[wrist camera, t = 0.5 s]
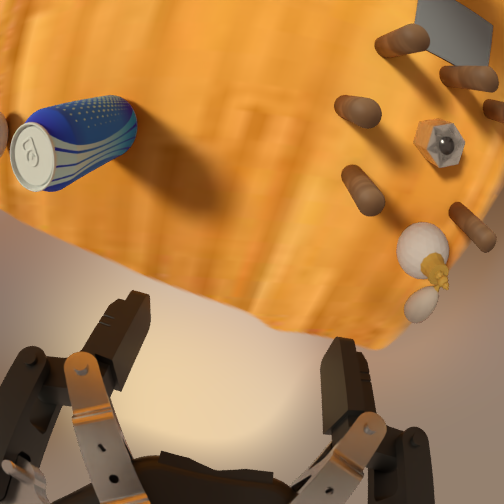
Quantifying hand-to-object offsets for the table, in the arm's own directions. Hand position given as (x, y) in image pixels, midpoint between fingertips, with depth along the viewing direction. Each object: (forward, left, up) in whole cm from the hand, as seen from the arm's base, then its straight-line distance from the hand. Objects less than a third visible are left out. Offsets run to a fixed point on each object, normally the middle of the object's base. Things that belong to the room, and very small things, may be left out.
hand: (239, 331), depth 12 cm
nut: (-9, +19, -27) cm, 34 cm away
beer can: (-2, -21, -27) cm, 34 cm away
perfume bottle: (+6, +22, -27) cm, 35 cm away
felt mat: (-25, +19, -26) cm, 41 cm away
